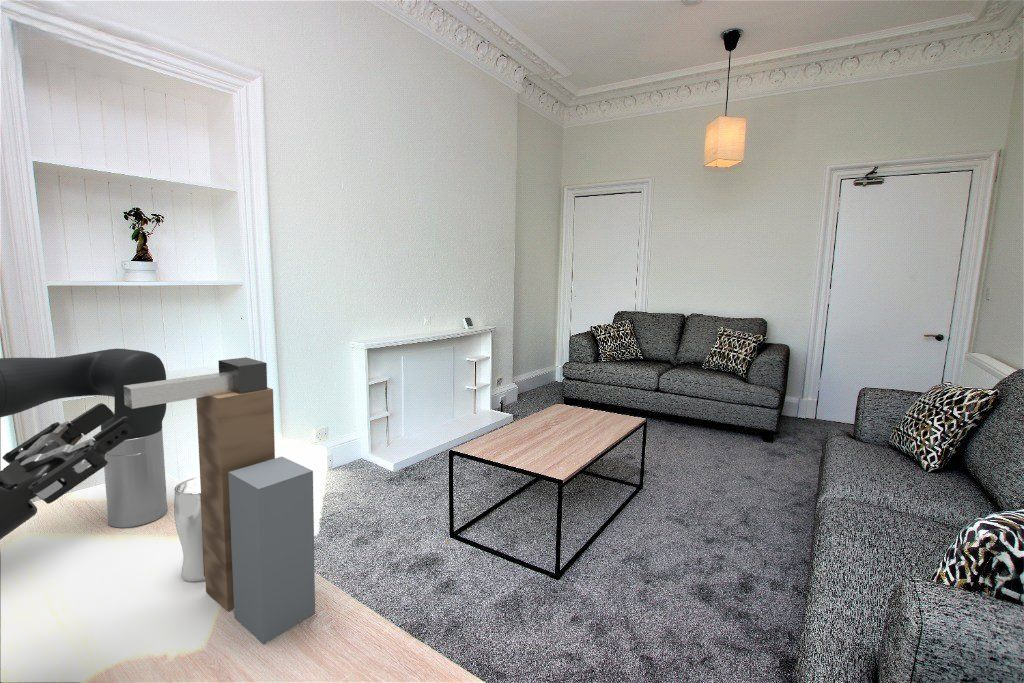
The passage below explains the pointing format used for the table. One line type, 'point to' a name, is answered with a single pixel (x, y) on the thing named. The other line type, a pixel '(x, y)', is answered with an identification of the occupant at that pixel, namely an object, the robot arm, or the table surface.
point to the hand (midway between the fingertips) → (120, 414)
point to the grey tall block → (272, 546)
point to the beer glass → (190, 528)
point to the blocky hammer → (201, 384)
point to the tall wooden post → (224, 448)
